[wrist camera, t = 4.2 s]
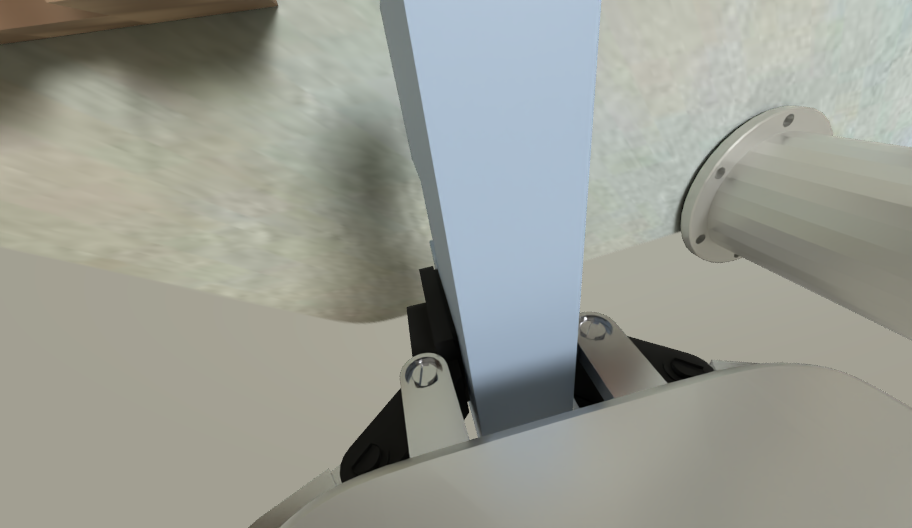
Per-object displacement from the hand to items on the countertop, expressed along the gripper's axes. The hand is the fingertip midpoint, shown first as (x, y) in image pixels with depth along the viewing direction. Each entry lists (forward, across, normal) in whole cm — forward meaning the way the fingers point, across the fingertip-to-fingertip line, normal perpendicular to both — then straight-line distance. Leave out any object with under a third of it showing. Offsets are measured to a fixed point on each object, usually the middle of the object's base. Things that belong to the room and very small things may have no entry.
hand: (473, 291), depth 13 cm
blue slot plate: (+2, 0, -3) cm, 4 cm away
